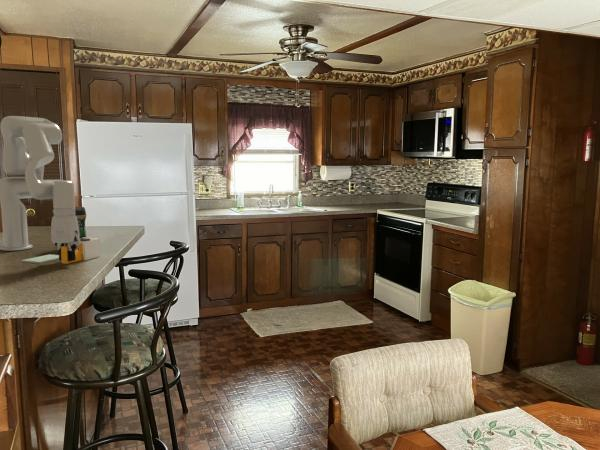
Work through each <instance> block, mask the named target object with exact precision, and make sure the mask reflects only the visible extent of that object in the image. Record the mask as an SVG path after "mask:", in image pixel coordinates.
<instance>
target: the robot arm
mask: <svg viewBox="0 0 600 450" xmlns="http://www.w3.org/2000/svg"><path fill="white" fill-rule="evenodd" d="M0 133H1V136H2V138H3V139H2V140H3V152H2V153H3V154H2V170H3V172H4V173H5V174H7V175H12V176H8V177H7V176H6V177H3V178H0V209H1V210H0V211H1V224H2V238H1V239H0V244H1V246H0V251H4V252H5V251H7V252H9V251H23V250H24V251H25V250H29V249H32V248H33V244H32V243H29V233H28V231H29V230H28V216H27V213H28V212H27V208H26V207H27V206H25V204H24V203H23V202H22V201H21V199H35V200H52V204H53V210H52V213H53V216H52V217H51V222H50V223H51V225H50V239H51V240H50V241H51V243H52V244H53V245H54V246H55V247H56V250H57V251H58V255H59V259H58V260H59V261H62V259H61V246H65V243H68V249H69V251H68V261H73V260H75V250H76V248H77V247H78V245H80V244H81V240H80V235H79V226H78V221H77V217H76V214H75V207H76V202H75V201H76V198H75V197H76V195H75V184H74V182H73V181H72V180H64V179H44V173H45V166H46V165H48V164H50V163H51V162H53V160H54V159H55V152H54V150H53V147H52V145H59V144H60V143H61V142H62V141H63V132H62V129H61V128H60V126H58V124H57V123H54V122H53V121H50V120H49V119H47V118H44V117H33V116H22V115H21V116H20V115H9V116H4V117H3V118H2V119H1V121H0ZM27 151H28V152H27ZM75 242H76V243H75ZM71 244H72V246H71Z"/></svg>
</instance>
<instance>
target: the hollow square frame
mask: <svg viewBox="0 0 600 450" xmlns="http://www.w3.org/2000/svg"><path fill="white" fill-rule="evenodd" d="M80 240H81V242H82V247H83V260H82V261H88V260H92V259H96V258H100V257H101V246H100V245H101V243H100V238H96V237H94V238H93V237H87V238H80ZM75 243H76V242H75ZM71 246H72V244H71ZM79 248H80V245H78V247H77V248H76V250H79ZM76 250H75V251H76Z"/></svg>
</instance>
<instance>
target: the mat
mask: <svg viewBox="0 0 600 450" xmlns="http://www.w3.org/2000/svg"><path fill="white" fill-rule="evenodd" d="M57 260H59V254H45V255H41V256H35V257H31V258H26V259H22V260H21V261H22V262H24V263H32V264H33V263H34V264H44V263H48V262H53V261H57Z"/></svg>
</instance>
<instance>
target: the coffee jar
mask: <svg viewBox="0 0 600 450" xmlns="http://www.w3.org/2000/svg"><path fill="white" fill-rule="evenodd" d="M75 214H76V217H77V221H78V226H79V235H80V238H88V237H87V230H86V229H87V228H86V219H87V212H86V207H84V206H75ZM65 246H68V243H65Z"/></svg>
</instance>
